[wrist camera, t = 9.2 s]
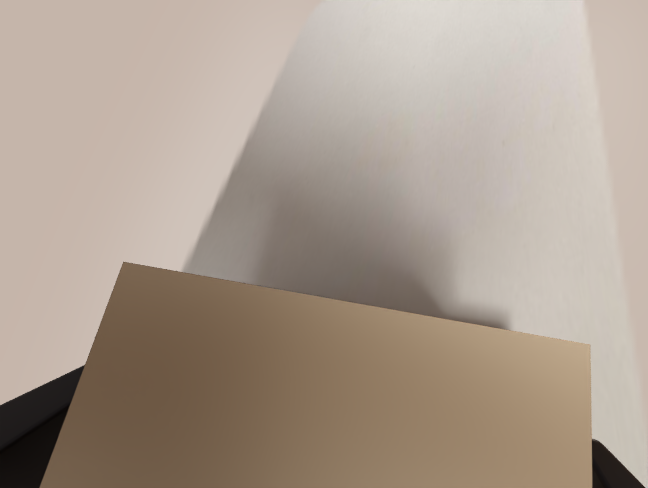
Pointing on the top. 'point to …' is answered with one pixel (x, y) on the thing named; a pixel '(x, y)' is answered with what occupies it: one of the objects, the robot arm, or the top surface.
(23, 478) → the robot arm
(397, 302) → the top surface
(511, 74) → the top surface
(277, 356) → the beech pillar
